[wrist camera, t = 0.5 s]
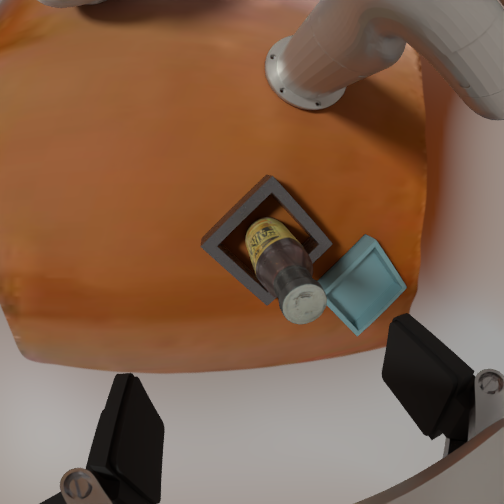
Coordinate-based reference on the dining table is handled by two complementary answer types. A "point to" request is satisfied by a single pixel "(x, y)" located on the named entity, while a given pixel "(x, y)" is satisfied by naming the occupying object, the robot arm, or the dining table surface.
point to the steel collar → (239, 212)
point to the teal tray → (362, 285)
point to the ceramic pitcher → (69, 3)
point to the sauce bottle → (285, 270)
